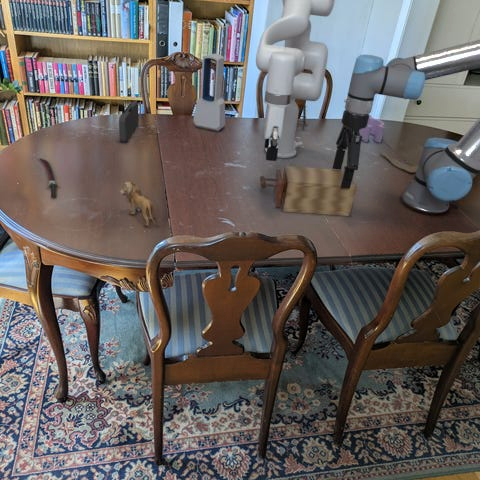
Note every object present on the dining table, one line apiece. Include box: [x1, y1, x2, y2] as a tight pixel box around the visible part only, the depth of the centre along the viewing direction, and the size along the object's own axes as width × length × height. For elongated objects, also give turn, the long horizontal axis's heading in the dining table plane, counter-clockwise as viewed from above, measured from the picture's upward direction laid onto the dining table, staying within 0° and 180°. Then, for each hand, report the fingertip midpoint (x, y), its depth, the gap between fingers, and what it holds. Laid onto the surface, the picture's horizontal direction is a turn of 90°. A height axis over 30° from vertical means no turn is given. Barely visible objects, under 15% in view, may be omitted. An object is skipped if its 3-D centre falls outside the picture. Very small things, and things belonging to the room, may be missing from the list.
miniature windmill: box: [294, 69, 309, 131], centre depth 208 cm, size 9×8×30 cm
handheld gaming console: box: [118, 101, 139, 143], centre depth 187 cm, size 23×3×10 cm, turn 178°
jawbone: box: [380, 152, 419, 174], centre depth 187 cm, size 9×20×2 cm, turn 50°
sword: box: [40, 158, 59, 198], centre depth 151 cm, size 31×3×1 cm, turn 26°
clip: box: [359, 114, 386, 143], centre depth 214 cm, size 20×12×7 cm, turn 11°
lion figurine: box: [119, 181, 159, 227], centre depth 134 cm, size 15×5×9 cm, turn 50°
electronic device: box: [193, 53, 226, 132], centre depth 196 cm, size 12×8×30 cm, turn 71°
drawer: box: [259, 168, 287, 208], centre depth 149 cm, size 25×10×8 cm, turn 91°
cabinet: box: [281, 165, 357, 217], centre depth 150 cm, size 21×11×10 cm, turn 91°
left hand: (270, 154), depth 143 cm, fingers open, 9 cm apart
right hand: (340, 178), depth 147 cm, fingers open, 13 cm apart
